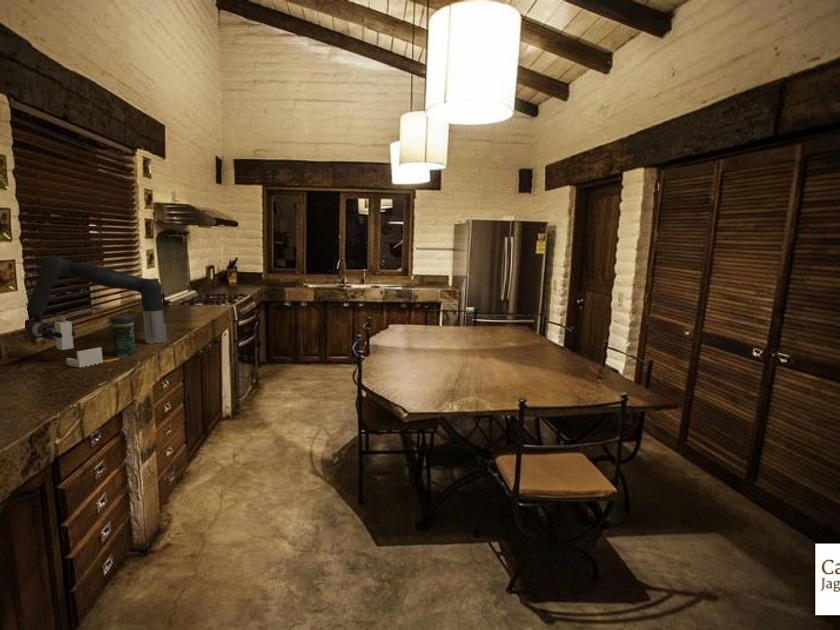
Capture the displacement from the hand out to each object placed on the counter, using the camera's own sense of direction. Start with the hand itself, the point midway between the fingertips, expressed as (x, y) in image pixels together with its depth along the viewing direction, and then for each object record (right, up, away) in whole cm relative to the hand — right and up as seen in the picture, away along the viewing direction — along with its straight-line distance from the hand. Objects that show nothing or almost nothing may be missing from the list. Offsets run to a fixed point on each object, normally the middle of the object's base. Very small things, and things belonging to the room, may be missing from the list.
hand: (67, 334), depth 211 cm
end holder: (+9, -13, -2) cm, 16 cm away
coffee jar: (+16, -10, +17) cm, 25 cm away
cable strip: (+15, -12, +4) cm, 20 cm away
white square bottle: (-3, -6, +2) cm, 7 cm away
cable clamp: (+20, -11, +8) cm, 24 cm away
